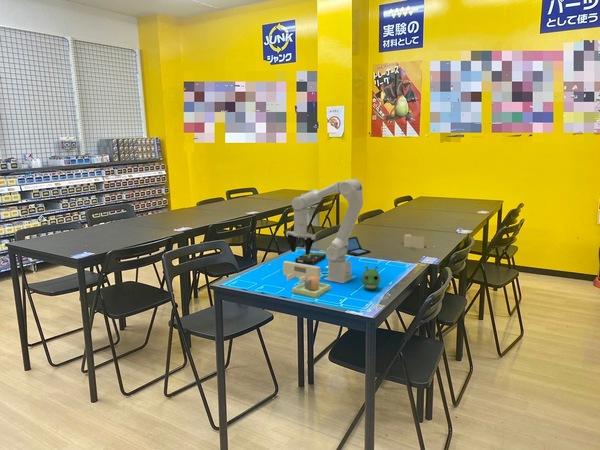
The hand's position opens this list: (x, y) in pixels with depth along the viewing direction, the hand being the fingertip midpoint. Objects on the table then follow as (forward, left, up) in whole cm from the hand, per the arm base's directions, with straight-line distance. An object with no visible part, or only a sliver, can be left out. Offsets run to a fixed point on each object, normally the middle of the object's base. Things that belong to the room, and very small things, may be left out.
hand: (300, 253), depth 202 cm
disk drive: (+8, -21, -10) cm, 24 cm away
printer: (-4, +7, -9) cm, 12 cm away
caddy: (-17, +18, -9) cm, 26 cm away
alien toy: (-36, +3, -10) cm, 37 cm away
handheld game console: (-5, -47, -10) cm, 48 cm away
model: (-26, -75, -10) cm, 80 cm away
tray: (-17, +18, -9) cm, 26 cm away
